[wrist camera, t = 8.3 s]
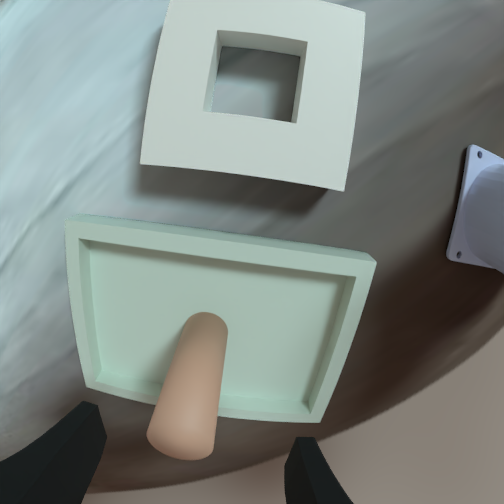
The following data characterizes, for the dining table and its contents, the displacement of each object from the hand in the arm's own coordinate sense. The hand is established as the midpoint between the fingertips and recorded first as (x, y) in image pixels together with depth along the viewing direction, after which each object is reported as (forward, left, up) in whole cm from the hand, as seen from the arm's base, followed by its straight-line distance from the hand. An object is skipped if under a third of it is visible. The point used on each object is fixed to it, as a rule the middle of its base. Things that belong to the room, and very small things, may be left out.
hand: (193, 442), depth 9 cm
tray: (+1, +2, -10) cm, 10 cm away
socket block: (0, -13, -10) cm, 17 cm away
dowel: (+1, +2, -10) cm, 10 cm away
